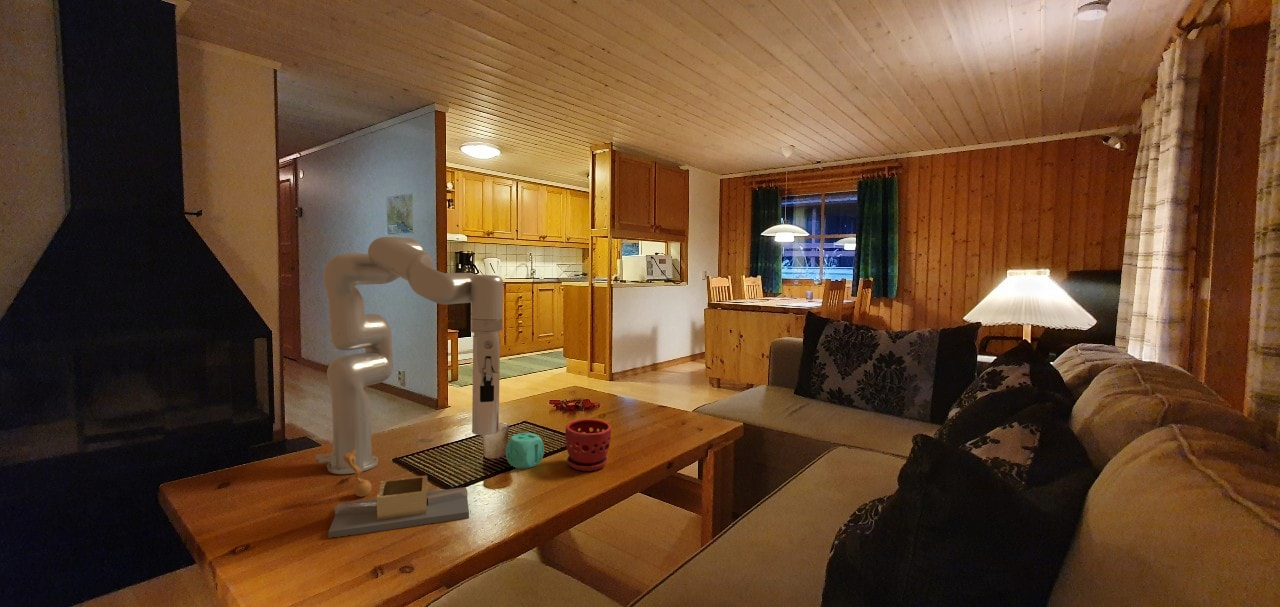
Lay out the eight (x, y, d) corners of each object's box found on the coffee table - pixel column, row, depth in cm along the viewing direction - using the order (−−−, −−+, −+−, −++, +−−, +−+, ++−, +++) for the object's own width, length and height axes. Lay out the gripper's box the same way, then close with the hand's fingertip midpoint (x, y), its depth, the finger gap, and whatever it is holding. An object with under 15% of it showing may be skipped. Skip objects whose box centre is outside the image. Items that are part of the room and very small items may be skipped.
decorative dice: (526, 471, 148) (526, 443, 148) (504, 465, 152) (504, 438, 152) (544, 462, 155) (544, 435, 155) (523, 457, 159) (523, 431, 159)
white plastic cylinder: (491, 436, 128) (492, 334, 126) (466, 434, 129) (467, 332, 127) (503, 428, 134) (504, 330, 132) (479, 425, 135) (481, 329, 133)
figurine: (374, 500, 129) (373, 452, 128) (346, 506, 125) (345, 456, 124) (369, 488, 136) (368, 442, 135) (342, 493, 132) (341, 446, 131)
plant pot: (556, 470, 150) (556, 428, 149) (579, 454, 162) (579, 416, 161) (598, 477, 145) (598, 435, 144) (617, 461, 157) (618, 421, 156)
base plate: (328, 538, 111) (328, 531, 111) (340, 509, 124) (340, 503, 124) (468, 518, 121) (468, 511, 121) (466, 492, 134) (465, 487, 134)
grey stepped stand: (329, 527, 112) (329, 504, 112) (338, 506, 122) (337, 485, 121) (468, 507, 122) (468, 486, 122) (466, 490, 132) (466, 470, 131)
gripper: (506, 330, 123) (505, 406, 124) (498, 321, 139) (497, 389, 140) (472, 330, 120) (471, 408, 122) (468, 321, 136) (468, 390, 138)
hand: (485, 397), depth 131 cm, fingers closed on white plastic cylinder, 5 cm apart
